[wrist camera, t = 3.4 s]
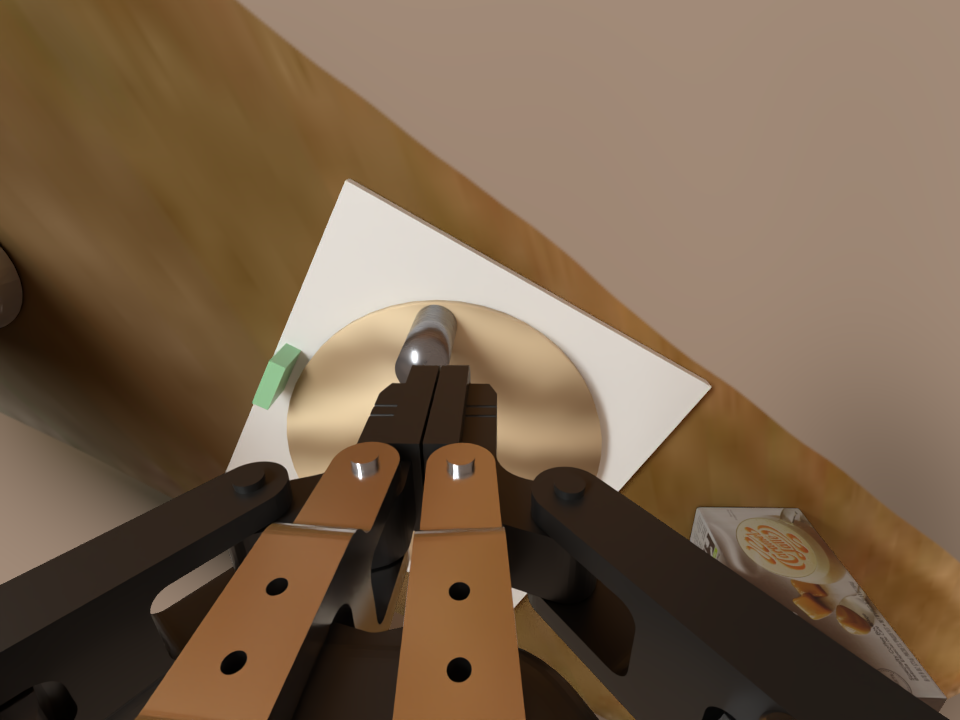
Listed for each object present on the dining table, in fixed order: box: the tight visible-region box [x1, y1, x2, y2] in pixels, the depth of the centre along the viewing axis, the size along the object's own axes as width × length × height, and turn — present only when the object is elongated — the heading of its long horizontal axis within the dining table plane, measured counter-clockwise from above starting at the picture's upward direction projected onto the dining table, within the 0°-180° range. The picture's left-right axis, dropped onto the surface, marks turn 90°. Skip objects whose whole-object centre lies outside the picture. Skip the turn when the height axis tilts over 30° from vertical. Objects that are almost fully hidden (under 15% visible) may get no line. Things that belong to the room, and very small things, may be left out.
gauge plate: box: [226, 179, 711, 607], centre depth 40 cm, size 30×30×4 cm
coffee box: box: [690, 507, 947, 712], centre depth 38 cm, size 9×6×16 cm
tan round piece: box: [287, 300, 602, 561], centre depth 37 cm, size 25×25×8 cm
